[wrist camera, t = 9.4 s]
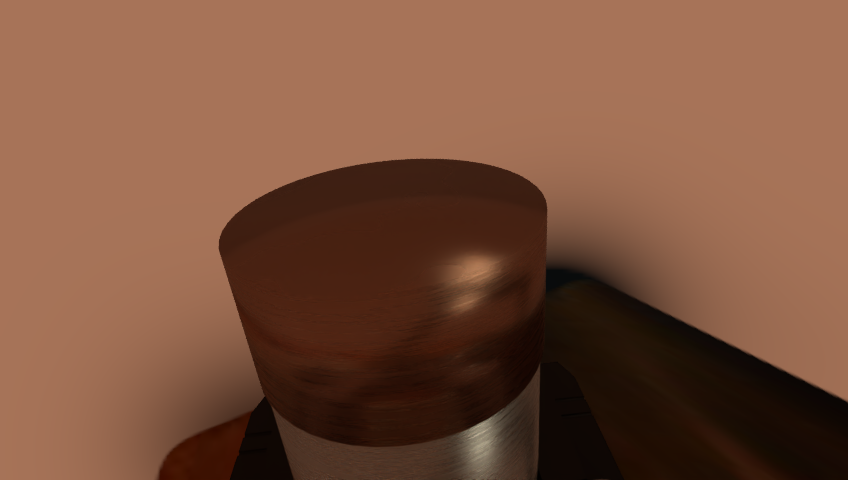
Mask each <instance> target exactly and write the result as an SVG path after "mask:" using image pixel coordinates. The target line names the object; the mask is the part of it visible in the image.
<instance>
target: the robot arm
mask: <svg viewBox="0 0 848 480" xmlns="http://www.w3.org/2000/svg"><path fill="white" fill-rule="evenodd" d="M230 480H294V478H293V475H292V472H291V468H290V465H289V462H288V459H287V455H286V452H285V449H284V445H283V442H282V439H281V436H280V432H279V429H278V426H277V423H276V419H275V416H274V413H273V409H272V406H271V405H270V403H269V401H268V400H267V398H266V396H265V397H264V398H263V400H262V401H261V402H260V403H259V404H258V406H257V407H256V408H255V409H254V411H253V412H252V413H251V416H250V419H249V422H248V425H247V429H246V432H245V438H243V441H242V444H241V447H240V450H239V456H237V459H236V462H235V465H234V468H233V471H232V474H231V477H230ZM538 480H624V478H623V477H622V475H621V473H620V471H619V468H618V466H617V464H616V462H615V460H614V458H613V456H612V454H611V452H610V450H609V448H608V446H607V444H606V441H605V439H604V437H603V435H602V433H601V431H600V429H599V427H598V425H597V423H596V421H595V419H594V416H592V414H591V410H590V408H589V406H588V404H587V402H586V400H584V396H583V394H582V392H581V389H580V387H579V385H578V383H577V381H576V379H575V377H574V376H573V375H572V374H571V373H569V372H568V371H567V370H566V369H565V368H564V367H563V366H562V365H560V364H559V363H558V362H552V363H543V364H540V394H539V448H538Z"/></svg>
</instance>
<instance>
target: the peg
mask: <svg viewBox="0 0 848 480" xmlns="http://www.w3.org/2000/svg"><path fill="white" fill-rule="evenodd" d="M546 239H547V204H546V200H545V198H544V196H543V194H542V192H541V191H540V190H539V189H538V188H537V187H536V186H535V185H534V184H533V183H531V182H530V181H528V180H527V179H525V178H523V177H522V176H520V175H518V174H515V173H513V172H511V171H508V170H505V169H502V168H498V167H495V166H491V165H486V164H482V163H476V162H469V161H460V160H447V159H405V160H391V161H382V162H374V163H367V164H360V165H355V166H350V167H345V168H340V169H336V170H332V171H327V172H324V173H320V174H316V175H313V176H310V177H307V178H304V179H301V180H297V181H295V182H292V183H290V184H287V185H285V186H282V187H280V188H278V189H275V190H273V191H272V192H269V193H267V194H265V195H263V196H262V197H260V198H258V199H256V200H255V201H253V202H251V203H250V204H248V205H247V206H245V207H244V208H243V209H242V210H241V211H239V212H238V213H237V214H236V215H235V216H234V217H233V218H232V219H231V220H230V221H229V222H228V223H227V225H226V226H225V228H224V229H223V231H222V233H221V236H220V239H219V251H220V255H221V257H222V261H223V264H224V268H225V270H226V274H227V277H228V281H229V284H230V287H231V290H232V293H233V296H234V300H235V303H236V306H237V310H238V313H239V316H240V319H241V322H242V326H243V329H244V332H245V335H246V339H247V342H248V345H249V348H250V351H251V355H252V358H253V361H254V364H255V368H256V371H257V374H258V377H259V380H260V384H261V386H262V390H263V393H264V395H265V396H266V398H267V400H268V401H269V403H270V405H271V406H272V409H273V413H274V416H275V419H276V423H277V426H278V429H279V432H280V436H281V439H282V442H283V445H284V449H285V452H286V455H287V459H288V462H289V465H290V468H291V472H292V475H293V478H294V480H538V448H539V394H540V361H541V359H542V355H543V348H544V329H545V282H546Z"/></svg>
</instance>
